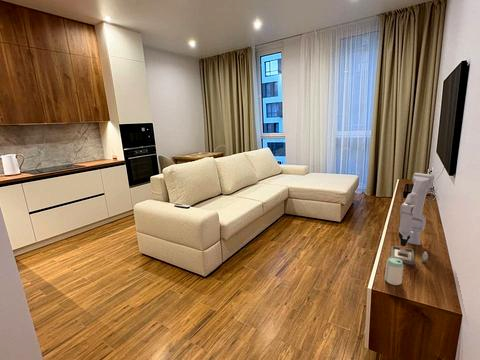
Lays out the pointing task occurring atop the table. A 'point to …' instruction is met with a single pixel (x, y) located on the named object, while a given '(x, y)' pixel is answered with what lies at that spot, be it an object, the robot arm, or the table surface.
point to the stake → (424, 257)
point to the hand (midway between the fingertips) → (402, 244)
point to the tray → (403, 255)
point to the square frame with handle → (403, 252)
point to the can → (394, 271)
